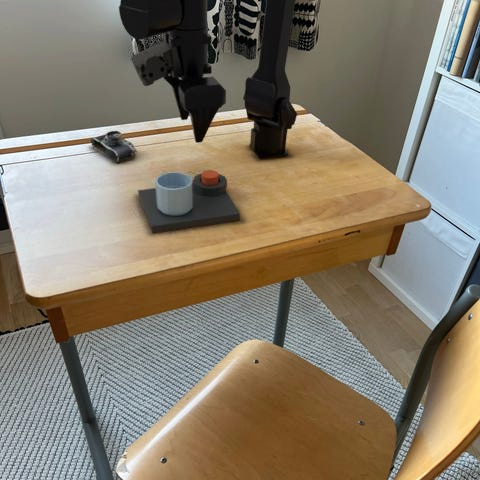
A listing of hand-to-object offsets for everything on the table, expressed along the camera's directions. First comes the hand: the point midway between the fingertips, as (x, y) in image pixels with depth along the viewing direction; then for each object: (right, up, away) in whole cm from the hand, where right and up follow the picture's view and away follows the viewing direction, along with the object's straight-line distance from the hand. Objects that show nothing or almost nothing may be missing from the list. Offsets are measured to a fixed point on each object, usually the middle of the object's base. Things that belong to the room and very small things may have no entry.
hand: (191, 130), depth 85 cm
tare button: (+3, -7, +6) cm, 10 cm away
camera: (-18, +2, +19) cm, 26 cm away
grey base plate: (-1, -12, +4) cm, 13 cm away
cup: (-3, -13, +1) cm, 13 cm away
